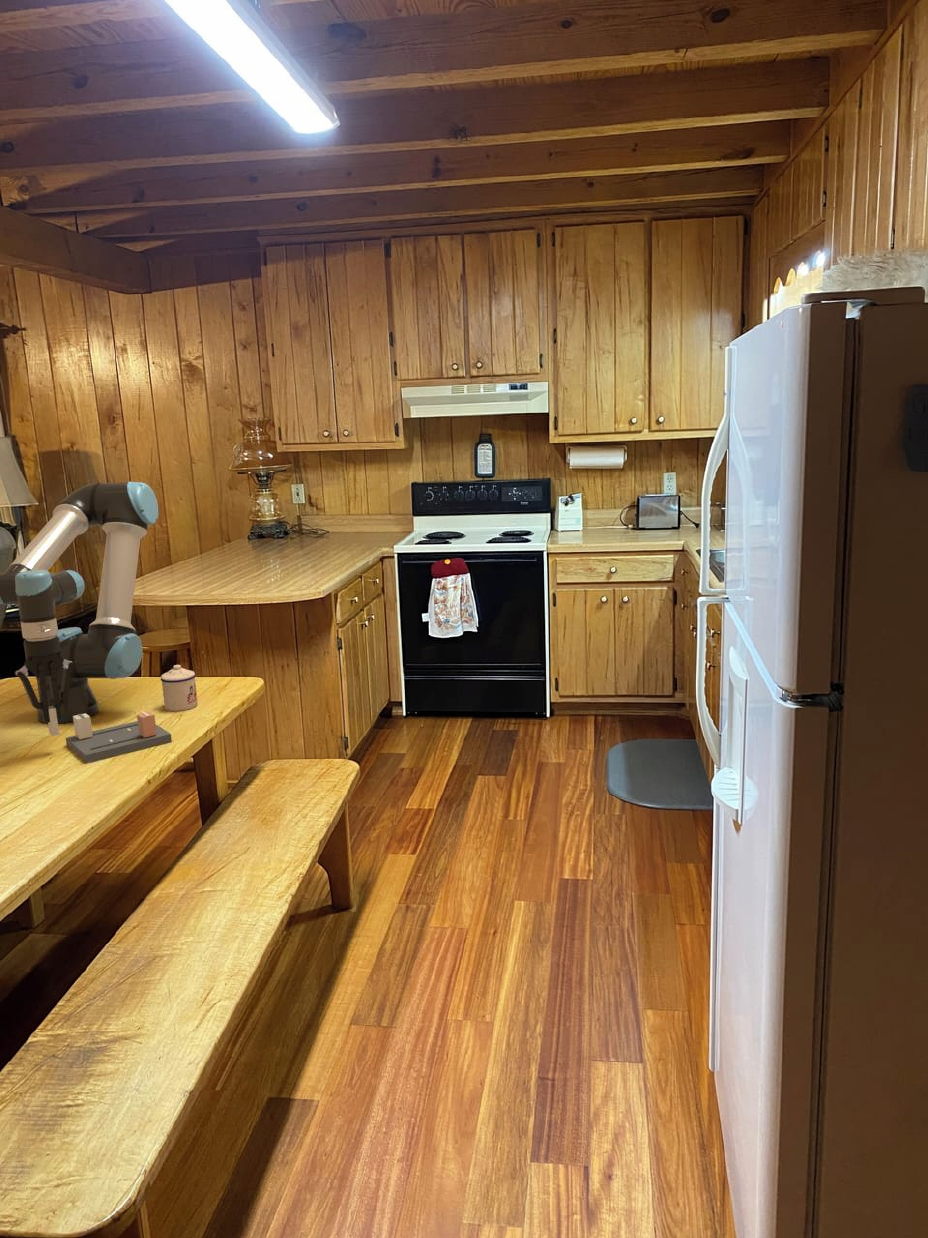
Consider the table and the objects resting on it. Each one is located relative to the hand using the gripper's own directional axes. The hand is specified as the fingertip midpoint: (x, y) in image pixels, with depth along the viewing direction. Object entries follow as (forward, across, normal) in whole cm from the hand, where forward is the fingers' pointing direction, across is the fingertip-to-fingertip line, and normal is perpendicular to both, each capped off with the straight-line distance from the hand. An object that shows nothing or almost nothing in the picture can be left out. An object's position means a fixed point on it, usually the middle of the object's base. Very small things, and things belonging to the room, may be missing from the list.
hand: (54, 733), depth 213 cm
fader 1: (+2, +6, 0) cm, 7 cm away
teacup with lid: (+5, +36, +14) cm, 39 cm away
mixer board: (+5, +13, -5) cm, 15 cm away
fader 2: (+2, +19, -10) cm, 21 cm away
